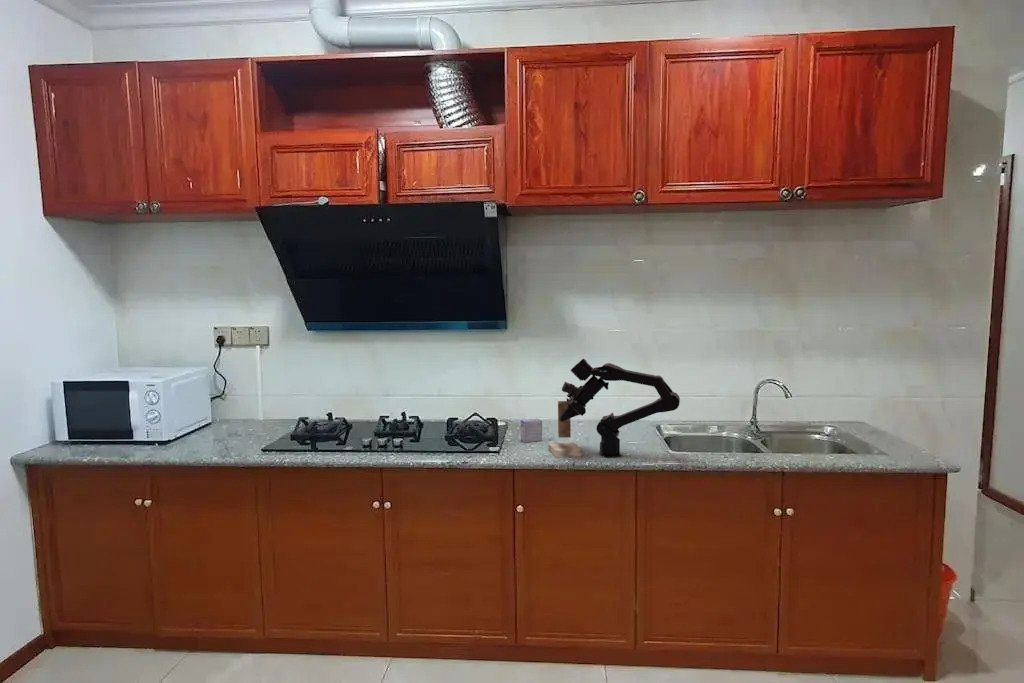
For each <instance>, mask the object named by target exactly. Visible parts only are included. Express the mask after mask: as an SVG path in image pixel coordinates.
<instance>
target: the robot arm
mask: <svg viewBox="0 0 1024 683" xmlns="http://www.w3.org/2000/svg"><path fill="white" fill-rule="evenodd" d="M570 372H571V373H572V374H573V375H574V376H575V377H576V378H577V379H578V380H579V381H580V382H581V381H584V382H585V381H586V382H585V383H584V384H582V385H579V387H577V386H576V385H575V384H573V383H569V382H567V381H564V383H563V385H562V387H561V391H562V392H563V393H566V394H567V395H566V401H570V403H569V402H568V409H567V410H566V411H565V413H564V414H563V416H562V417H561V418H560V420H561V421H564V420H567V419H569V418H570V419H572V418H575V417H577V416H581V417H583V416H584V415H585V414H586V406H587V404H588V403H589V402H590V401H592V400H593V399H594V397H595V396H596V395H597V394H598V393H599V392H600V391H601V390H603V388H605V390H609V383H610V382H611V381H612V382H616V381H617V382H618V381H624V382H630V383H633V384H640V385H643V386H644V385H645V386H649V387H653V388H654V389H655V391H656V392H657V394H658V396H659V398H657V399H656V400H654V401H653V402H651V403H648V404H644V405H643V406H640V407H637V408H635V409H633V410H630V411H627V412H625V413H622V414H619V415H614V412H612V413H610V414H608V415H603V416H602V418H601V419H600V420H599V421H598V423H597V425H596V432H597V433H598V435H599V436H600V438H601V439H600V440H601V441H599V453H598V454H601V455H602V456H603V457H604V458H612V457H613V456H616V457H621V456H622V454H621V453H620V452H621V450H620V447H621V446H620V445H621V443H620V440H621V438H619V434H620V432H621V431H620V430H619V429H620V428H622V427H625V426H626V425H629V424H631V423H634V422H637V421H639V420H642V419H645V418H647V417H650V416H651V415H655V414H658V413H668V412H671V411H672V412H673V411H675V410H677V409H678V408H679V406H680V403H681V399H680V398H681V397H680V396H679V394H678V393H677V392H675V391H673V390H672V388H671V387H670V386H669V385H668V384H667V382H666V381H665V380H664V378H663V376H661V375H654V374H649V373H644V372H639V371H634V370H629V369H625V368H622V367H620V366H618V365H615V364H613V363H609V362H608V363H605V364H603V365H602V366H598V367H597V366H595V367H593V366H591V365H590V364H589V362H588V361H587V360H586V358H582V359H581V360H580V361H579V362H577V363H576V364H575V365H574V366H572V368H571V369H570ZM587 379H588V380H587ZM606 381H607V382H606ZM613 458H614V457H613Z"/></svg>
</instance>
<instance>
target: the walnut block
mask: <svg viewBox="0 0 1024 683" xmlns="http://www.w3.org/2000/svg"><path fill="white" fill-rule="evenodd" d="M568 402H569V403H570V401H567V400H557V416H558V417H557V432H558V433H557V434H558V438H571V437H572V436H571V434H572V433H571V430H572V429H571V418H569V419H567V420H564V421H561V420H560V418H561V417H562V416H563V414H564V413H565V411H566V410H567V409H568Z"/></svg>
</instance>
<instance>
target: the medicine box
mask: <svg viewBox="0 0 1024 683" xmlns="http://www.w3.org/2000/svg"><path fill="white" fill-rule="evenodd" d="M521 440H522V441H521ZM520 441H521V442H523V443H524V442H526V443H534V442H542V441H543V421H542V420H541V419H540V418H537V417H536V418H527V419H525V418H524V419H520Z"/></svg>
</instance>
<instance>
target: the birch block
mask: <svg viewBox="0 0 1024 683" xmlns="http://www.w3.org/2000/svg"><path fill="white" fill-rule="evenodd" d="M548 452H549V453H551V455H553V456H554V458H556V459H557V458H559V459H560V458H570V457H572V458H573V457H582V448H580V446H579V445H577V444H576V443H575V442H573V441H571V442H557V443H548Z"/></svg>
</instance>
